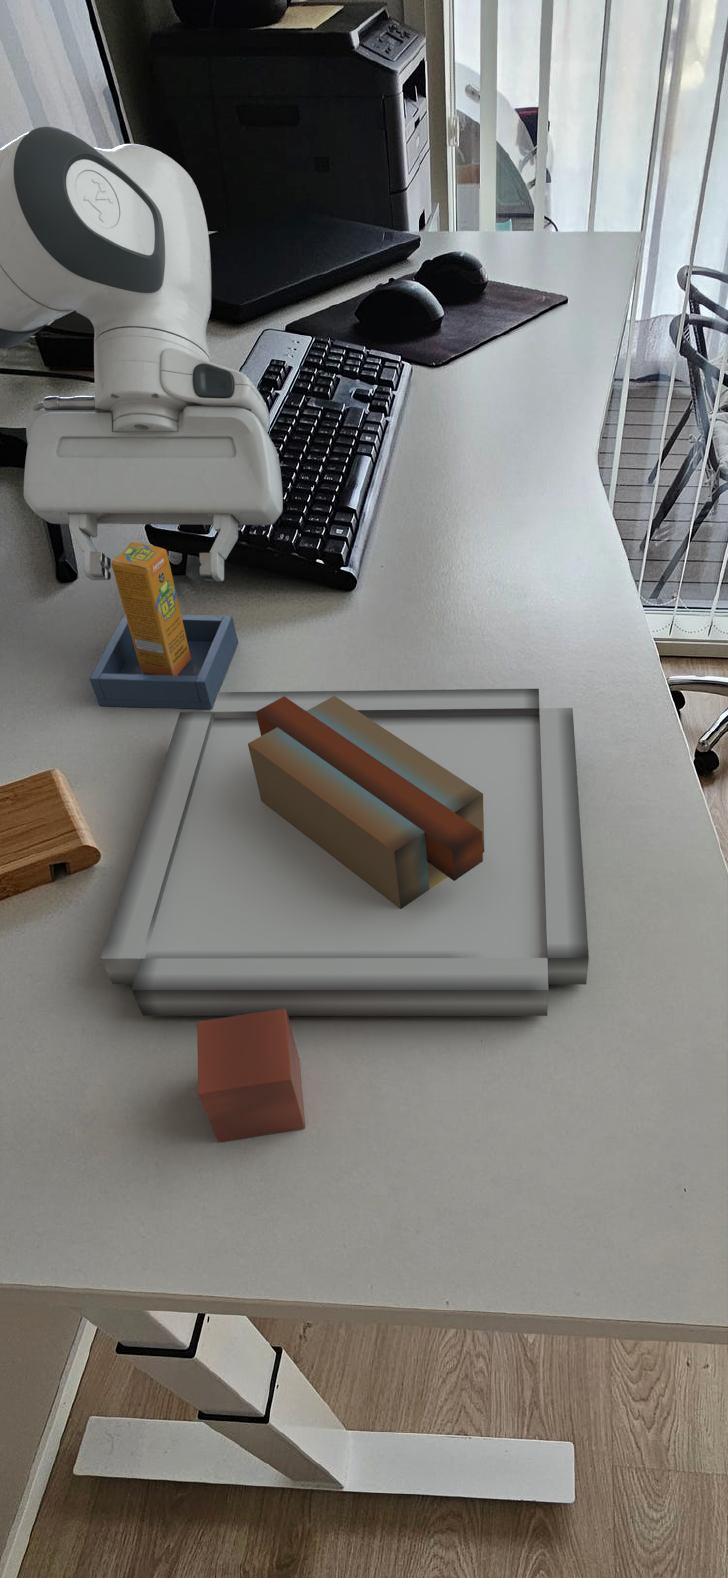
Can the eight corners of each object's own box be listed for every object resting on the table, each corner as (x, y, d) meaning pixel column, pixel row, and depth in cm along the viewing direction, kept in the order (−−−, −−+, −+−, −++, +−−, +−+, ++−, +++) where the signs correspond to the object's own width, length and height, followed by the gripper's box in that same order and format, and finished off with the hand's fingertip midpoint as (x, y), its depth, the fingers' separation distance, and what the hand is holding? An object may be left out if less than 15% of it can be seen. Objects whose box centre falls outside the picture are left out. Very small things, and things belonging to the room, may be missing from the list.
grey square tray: (106, 1021, 65) (65, 941, 59) (195, 725, 83) (172, 642, 77) (587, 1022, 63) (595, 940, 58) (569, 721, 82) (574, 636, 76)
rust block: (218, 1142, 59) (197, 1094, 55) (216, 1072, 62) (196, 1021, 58) (305, 1128, 59) (291, 1079, 55) (299, 1059, 62) (285, 1007, 59)
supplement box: (177, 681, 86) (144, 567, 78) (141, 674, 87) (105, 560, 79) (196, 659, 88) (166, 545, 80) (160, 653, 89) (127, 539, 81)
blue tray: (98, 705, 85) (88, 678, 83) (132, 640, 91) (123, 613, 89) (211, 709, 85) (204, 681, 83) (238, 642, 91) (232, 615, 88)
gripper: (6, 377, 79) (9, 565, 81) (268, 375, 78) (266, 567, 79) (45, 414, 86) (48, 588, 87) (288, 413, 84) (287, 591, 86)
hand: (154, 578), depth 83 cm, fingers open, 8 cm apart
